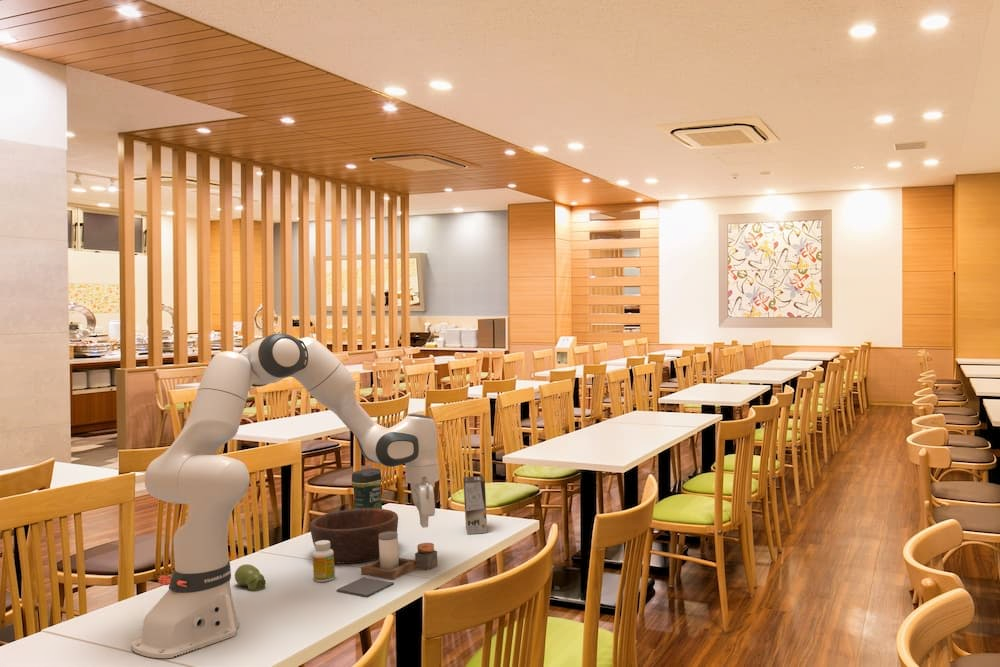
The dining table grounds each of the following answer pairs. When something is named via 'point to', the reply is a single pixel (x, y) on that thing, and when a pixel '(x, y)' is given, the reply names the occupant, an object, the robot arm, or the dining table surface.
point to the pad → (365, 587)
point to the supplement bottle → (323, 562)
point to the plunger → (425, 548)
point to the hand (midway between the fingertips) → (424, 526)
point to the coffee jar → (367, 488)
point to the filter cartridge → (388, 550)
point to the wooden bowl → (354, 532)
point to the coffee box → (475, 504)
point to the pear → (250, 577)
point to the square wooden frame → (401, 566)
